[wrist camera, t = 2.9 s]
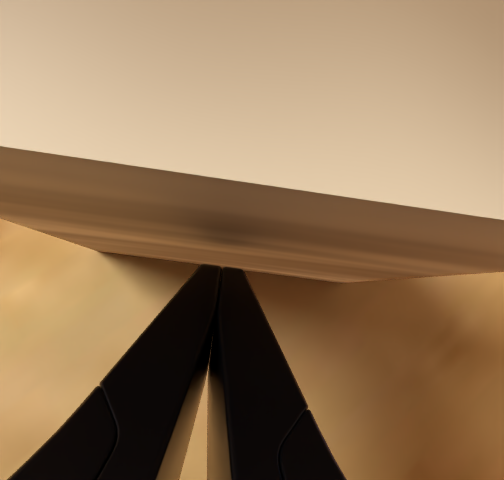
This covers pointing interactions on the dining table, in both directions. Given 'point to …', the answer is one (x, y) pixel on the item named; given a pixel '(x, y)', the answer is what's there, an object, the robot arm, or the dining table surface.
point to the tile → (260, 132)
